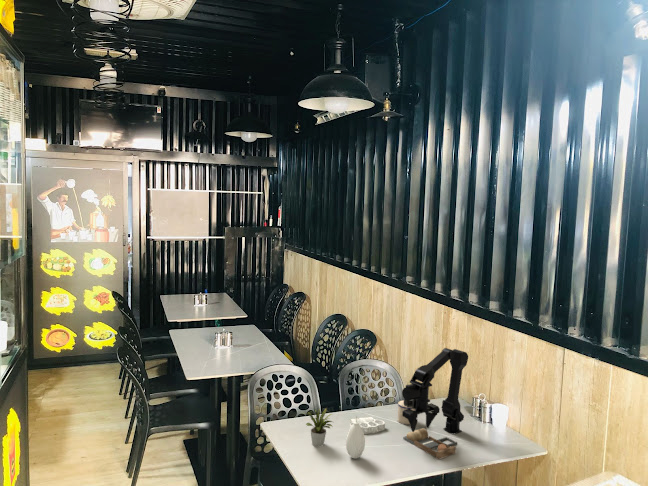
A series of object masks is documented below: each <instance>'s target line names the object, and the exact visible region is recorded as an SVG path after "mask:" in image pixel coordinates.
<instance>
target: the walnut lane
mask: <svg viewBox="0 0 648 486" xmlns="http://www.w3.org/2000/svg"><path fill="white" fill-rule="evenodd" d="M428 439H430V440H432V441H434V442H436V443H438V444H444V443H445V442H443V441H441V442H440V441H438V439H436V438H434V437H432V436H431V435H428ZM442 442H443V443H442ZM446 444H447V443H445V444H444V445H446ZM418 445H419V446H418ZM414 446H415V447H417V448H418V449H420V448H421V449H420V450H422V451H424V452H426V453H427V454H430V455H431V456H433V457H434V458H436V459H437V460H440V459H444V458H447V457H449V456H453V455H455V454H456V449H457V448H456V446H455V445H453V446H448V444H447V445H446V447H447V448H445V449H442V450H439V451H438V450H437V451H435V450H434V449H430V448H428V447H427V446H425V445H423V444H421V443H419V442H417V441H416V440H415V441H414Z"/></svg>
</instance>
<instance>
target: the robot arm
mask: <svg viewBox="0 0 648 486" xmlns="http://www.w3.org/2000/svg"><path fill="white" fill-rule="evenodd" d="M448 361H449V363H450V367H451V372H450V378H449V385H448V392H447V397H446V398H445V400H444V399H443V400H442V401H441V402H442V403H441V404H442V405H441V407H439V406H438V405H436V404H434V403H430V402H431V399H429V393H430V387H433V384H432V383H431V382H432V380H433V379H434V378H435V374H436V372H438V371H439V370H440V369H441V368H442V367H443V366H444V365H445V364H446V363H447V362H448ZM468 361H469V354H468V353H467V352H466V351H462V350H459V349H456V348H454V349H451V348H447V347H444V348H443V349H442V350H441V352H440V353H438V354H437V355H436V356H435V357H434V358H433V359H432V360H431V361H430V362H429V363H427V364H425V365H421V366H420V367H419V366H418V367H417V368H416V370H414V373H413V375H412V377H411V379H410V380H409V383H410V384H406V385H405V387H404V388H403V389H402V391H401V394H402V398H403V400H404V406H407V407H412V409H415V411H413V410H411V409H407V410H404V411H403V414H402V416H403V417H405V418H407V419H408V421H409V423H410V424H409V426H410V430H411V432H414V431H415V430H416V429H417V427H416V426H417V422H418V415H422V414H424V413H425V427H426V429H429V428H430V426H431V424H432V422H433V421H434V419H435V417H436V416H437V415H438V414H440V408H441V412H442V414H443V417H446V421H445V427H443V428H442V430H444V431H446V432H448V433H450V434H451V435H455V434H458V433H461V432H463V430H462V429H460V427H461V426H460V423H461V422H462V421H464V418H465V414H463V413H462V411H461V403H460V401H459V395H460V390H461V389H460V388H461V382H462V376H463V375H462V374H463V369H465V367H466V366H467V363H468Z"/></svg>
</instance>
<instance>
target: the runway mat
mask: <svg viewBox="0 0 648 486" xmlns="http://www.w3.org/2000/svg"><path fill="white" fill-rule="evenodd" d="M402 439H403V440H404V441H405V442H408V443H409V444H411V445H414V442H413V441H411V440H409V439H407V435H406V436H403V437H402ZM417 442H419V443H421V444H423V445H425V446H427V447H428V448H430V449H432V450H434V449H436V448H437V449H438V446H439V445H440V444H438V443H436V442H434V441H432V440H430V439H428V438H426V439H422V440H419V441H417ZM414 446H415V445H414ZM418 446H419V445H418ZM419 449H420V450H422V449H421V448H419Z"/></svg>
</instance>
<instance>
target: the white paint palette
mask: <svg viewBox="0 0 648 486" xmlns="http://www.w3.org/2000/svg"><path fill="white" fill-rule="evenodd" d="M348 421H349V429H350V428H351V426H352V425H353V423H354V422H355V421H356V418H350V419H349V420H348ZM357 422H359V423H360V424H359V425H360V426H361V428H362V430H363V433H364V435H365V434H371V433H372V434H374V433H375V434H376V433H378V432H380V431H385V430H386V428H385V427H386V422H385V421H384V420H381V419H375V418H373V417H372V416H369V417H360V418H358V417H357Z"/></svg>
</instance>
